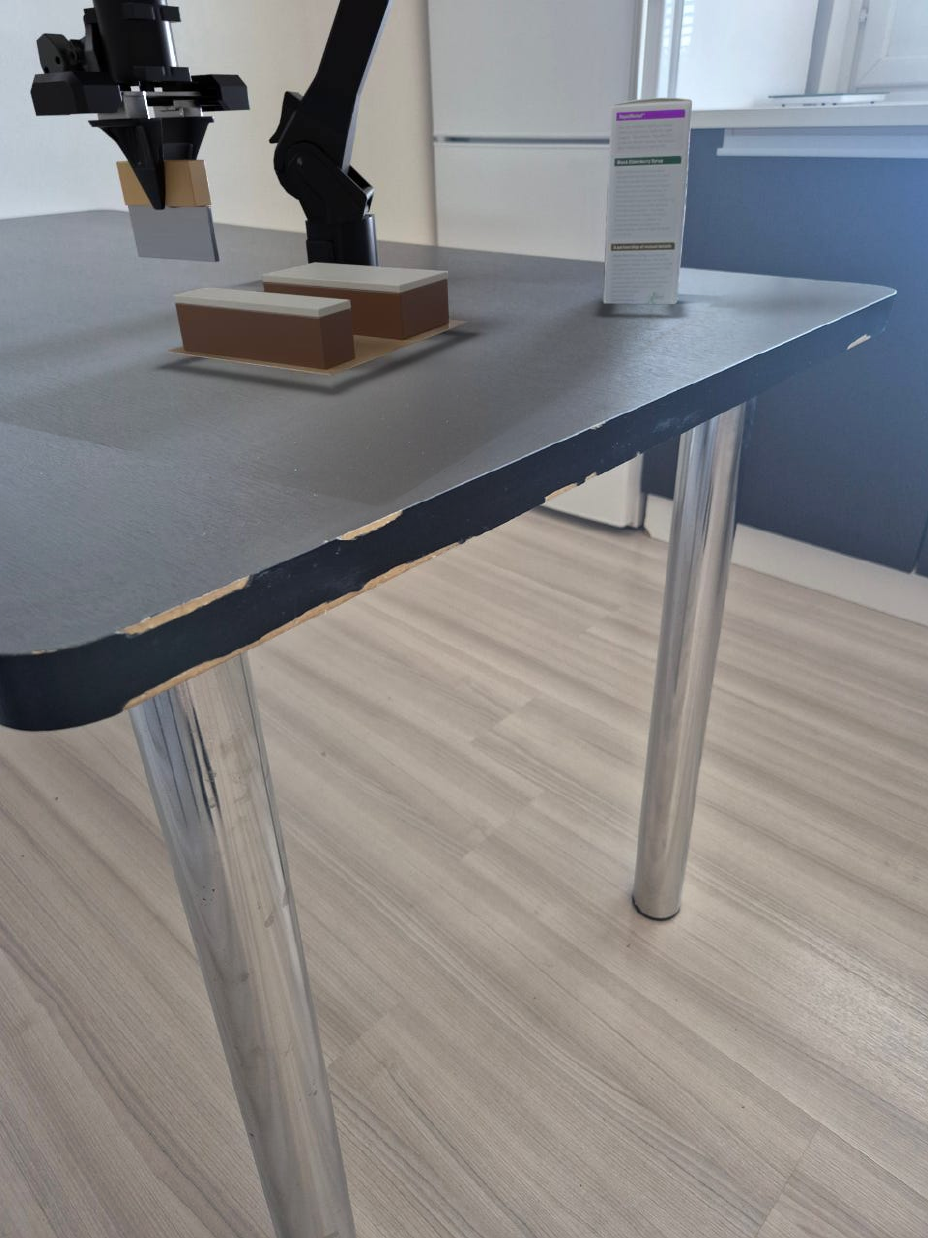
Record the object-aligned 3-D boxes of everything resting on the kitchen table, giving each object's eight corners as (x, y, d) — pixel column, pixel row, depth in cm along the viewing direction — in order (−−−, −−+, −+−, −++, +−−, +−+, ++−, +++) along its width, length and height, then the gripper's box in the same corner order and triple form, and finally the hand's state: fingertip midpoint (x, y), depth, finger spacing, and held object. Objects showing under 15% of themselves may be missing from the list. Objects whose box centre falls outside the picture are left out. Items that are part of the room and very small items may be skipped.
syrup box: (676, 316, 65) (698, 96, 58) (599, 316, 66) (610, 99, 59) (676, 302, 70) (695, 96, 62) (604, 301, 71) (614, 99, 64)
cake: (320, 309, 66) (314, 262, 65) (449, 322, 61) (447, 270, 59) (268, 325, 62) (261, 274, 60) (403, 340, 57) (399, 285, 55)
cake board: (319, 319, 68) (318, 306, 68) (469, 335, 62) (468, 320, 61) (168, 366, 56) (164, 351, 56) (333, 391, 50) (331, 374, 50)
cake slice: (216, 340, 58) (207, 286, 56) (355, 358, 53) (350, 299, 51) (183, 350, 56) (172, 294, 54) (325, 369, 51) (318, 308, 49)
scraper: (132, 258, 79) (111, 161, 75) (149, 255, 81) (129, 160, 76) (209, 263, 75) (191, 160, 70) (225, 260, 76) (209, 159, 72)
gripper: (150, 9, 78) (184, 197, 86) (-42, -9, 64) (20, 217, 72) (239, -3, 73) (266, 199, 81) (51, -24, 59) (107, 220, 67)
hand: (169, 208), depth 75 cm, fingers closed on scraper, 2 cm apart
